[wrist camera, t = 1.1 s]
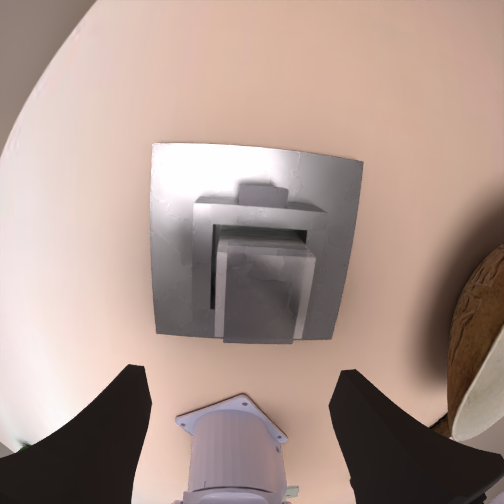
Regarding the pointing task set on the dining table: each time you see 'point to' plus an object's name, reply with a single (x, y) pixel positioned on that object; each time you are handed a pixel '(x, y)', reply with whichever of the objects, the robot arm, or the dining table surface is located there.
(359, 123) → the dining table surface
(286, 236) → the silver metal block
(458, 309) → the bowl
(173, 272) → the grey square plate
